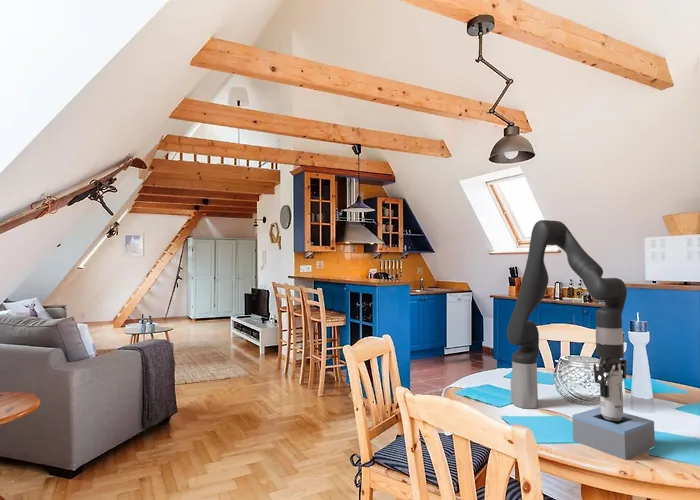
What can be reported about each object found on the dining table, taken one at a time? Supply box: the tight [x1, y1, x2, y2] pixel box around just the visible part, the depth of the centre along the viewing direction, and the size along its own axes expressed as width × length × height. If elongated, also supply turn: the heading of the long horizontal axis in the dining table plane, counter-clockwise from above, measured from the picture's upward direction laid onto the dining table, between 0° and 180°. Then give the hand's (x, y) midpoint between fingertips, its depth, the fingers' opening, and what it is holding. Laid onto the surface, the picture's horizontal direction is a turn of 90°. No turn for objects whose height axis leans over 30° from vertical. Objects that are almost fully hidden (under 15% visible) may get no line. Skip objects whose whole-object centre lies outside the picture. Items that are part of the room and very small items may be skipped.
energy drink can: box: [599, 370, 624, 421], centre depth 136 cm, size 6×6×15 cm
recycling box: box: [571, 406, 656, 461], centre depth 135 cm, size 16×16×8 cm
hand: (611, 394), depth 136 cm, fingers open, 6 cm apart
